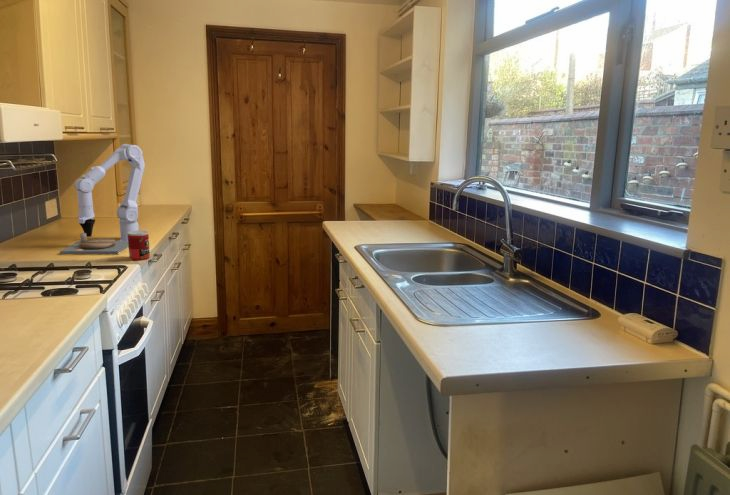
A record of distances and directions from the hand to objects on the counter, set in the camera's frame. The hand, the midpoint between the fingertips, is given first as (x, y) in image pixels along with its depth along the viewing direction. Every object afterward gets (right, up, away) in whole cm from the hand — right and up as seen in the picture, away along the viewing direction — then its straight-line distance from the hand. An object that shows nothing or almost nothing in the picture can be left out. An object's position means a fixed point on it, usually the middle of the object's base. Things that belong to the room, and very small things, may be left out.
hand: (88, 236), depth 243 cm
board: (+6, -6, -4) cm, 9 cm away
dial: (+6, -4, -4) cm, 8 cm away
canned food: (+29, -10, -16) cm, 35 cm away
